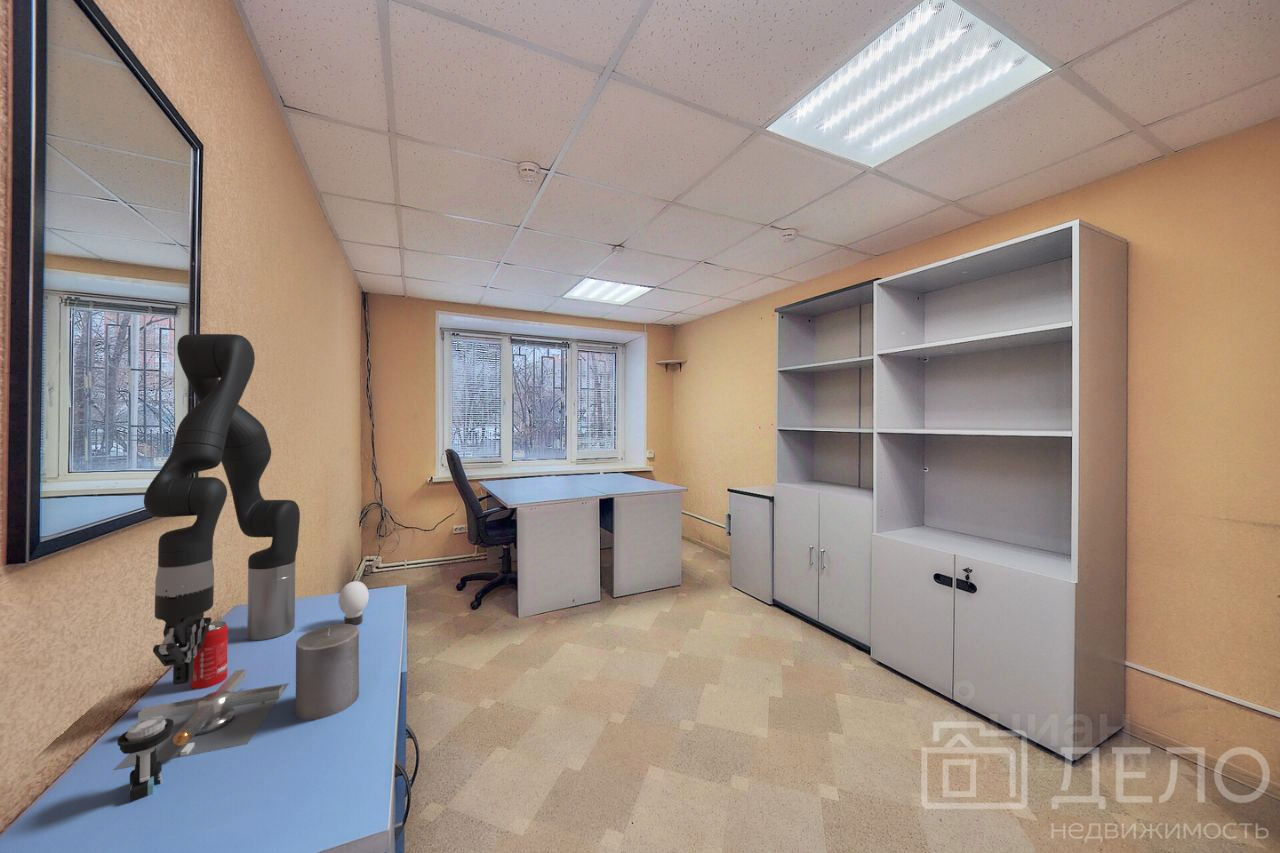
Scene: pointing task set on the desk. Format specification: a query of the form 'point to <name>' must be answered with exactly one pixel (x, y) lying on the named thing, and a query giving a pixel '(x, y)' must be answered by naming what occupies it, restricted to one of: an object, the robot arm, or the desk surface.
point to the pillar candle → (327, 671)
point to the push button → (145, 753)
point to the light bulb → (353, 602)
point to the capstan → (211, 708)
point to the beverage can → (211, 657)
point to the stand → (226, 737)
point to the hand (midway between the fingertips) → (183, 681)
